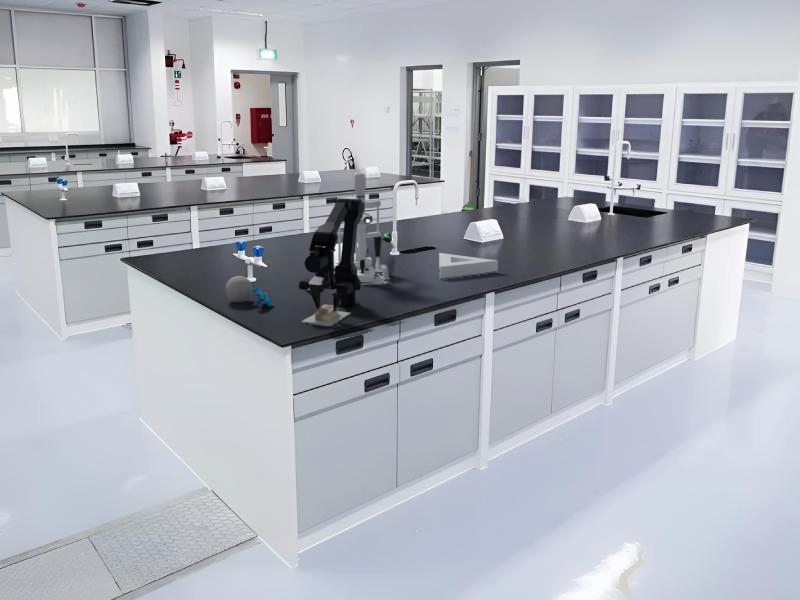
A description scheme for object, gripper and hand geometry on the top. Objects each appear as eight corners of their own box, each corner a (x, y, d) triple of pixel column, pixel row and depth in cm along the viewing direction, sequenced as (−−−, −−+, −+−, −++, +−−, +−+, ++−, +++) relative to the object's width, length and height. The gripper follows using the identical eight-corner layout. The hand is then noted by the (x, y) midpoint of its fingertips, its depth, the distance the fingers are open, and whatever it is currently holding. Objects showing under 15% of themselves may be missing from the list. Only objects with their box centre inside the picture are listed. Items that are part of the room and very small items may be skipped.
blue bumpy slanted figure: (272, 306, 251) (252, 286, 250) (260, 317, 252) (240, 298, 251) (277, 302, 262) (258, 283, 261) (266, 313, 263) (247, 294, 262)
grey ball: (227, 306, 256) (225, 280, 254) (225, 299, 266) (224, 273, 263) (254, 304, 259) (253, 278, 256) (252, 297, 268) (251, 272, 266)
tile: (315, 320, 238) (315, 312, 237) (324, 312, 248) (324, 304, 247) (329, 321, 237) (329, 313, 236) (337, 313, 247) (337, 305, 246)
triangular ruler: (439, 266, 328) (439, 252, 327) (494, 267, 327) (494, 253, 326) (439, 281, 299) (440, 266, 298) (500, 282, 298) (501, 267, 297)
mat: (323, 310, 252) (323, 309, 252) (350, 314, 248) (350, 312, 248) (301, 322, 237) (301, 321, 237) (330, 326, 234) (330, 325, 233)
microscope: (334, 287, 285) (332, 176, 273) (331, 272, 311) (329, 170, 299) (392, 286, 288) (393, 176, 276) (385, 271, 314) (385, 170, 302)
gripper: (289, 268, 234) (291, 313, 238) (339, 273, 227) (340, 319, 231) (306, 262, 244) (307, 305, 248) (354, 267, 237) (354, 311, 241)
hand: (326, 310), depth 242 cm, fingers open, 6 cm apart
